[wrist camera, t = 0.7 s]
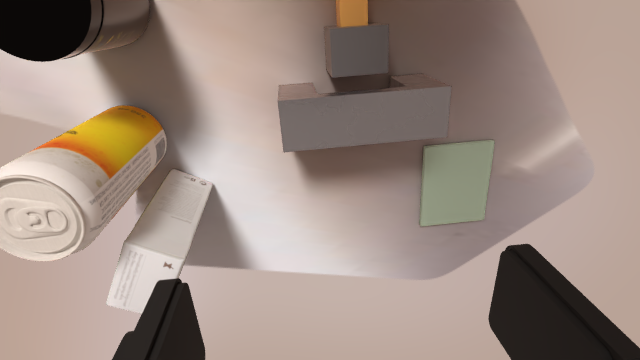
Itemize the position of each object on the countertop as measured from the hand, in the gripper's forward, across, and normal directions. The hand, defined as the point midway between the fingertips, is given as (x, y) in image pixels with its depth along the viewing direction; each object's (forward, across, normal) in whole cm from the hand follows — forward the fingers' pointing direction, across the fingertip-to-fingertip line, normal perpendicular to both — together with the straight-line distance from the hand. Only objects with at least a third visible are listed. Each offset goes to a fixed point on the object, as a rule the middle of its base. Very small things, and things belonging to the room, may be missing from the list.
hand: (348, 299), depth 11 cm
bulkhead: (+25, -4, 0) cm, 25 cm away
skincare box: (+25, +12, +9) cm, 29 cm away
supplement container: (+25, +15, -9) cm, 31 cm away
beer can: (+25, +16, +2) cm, 30 cm away
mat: (+25, -15, +9) cm, 30 cm away
